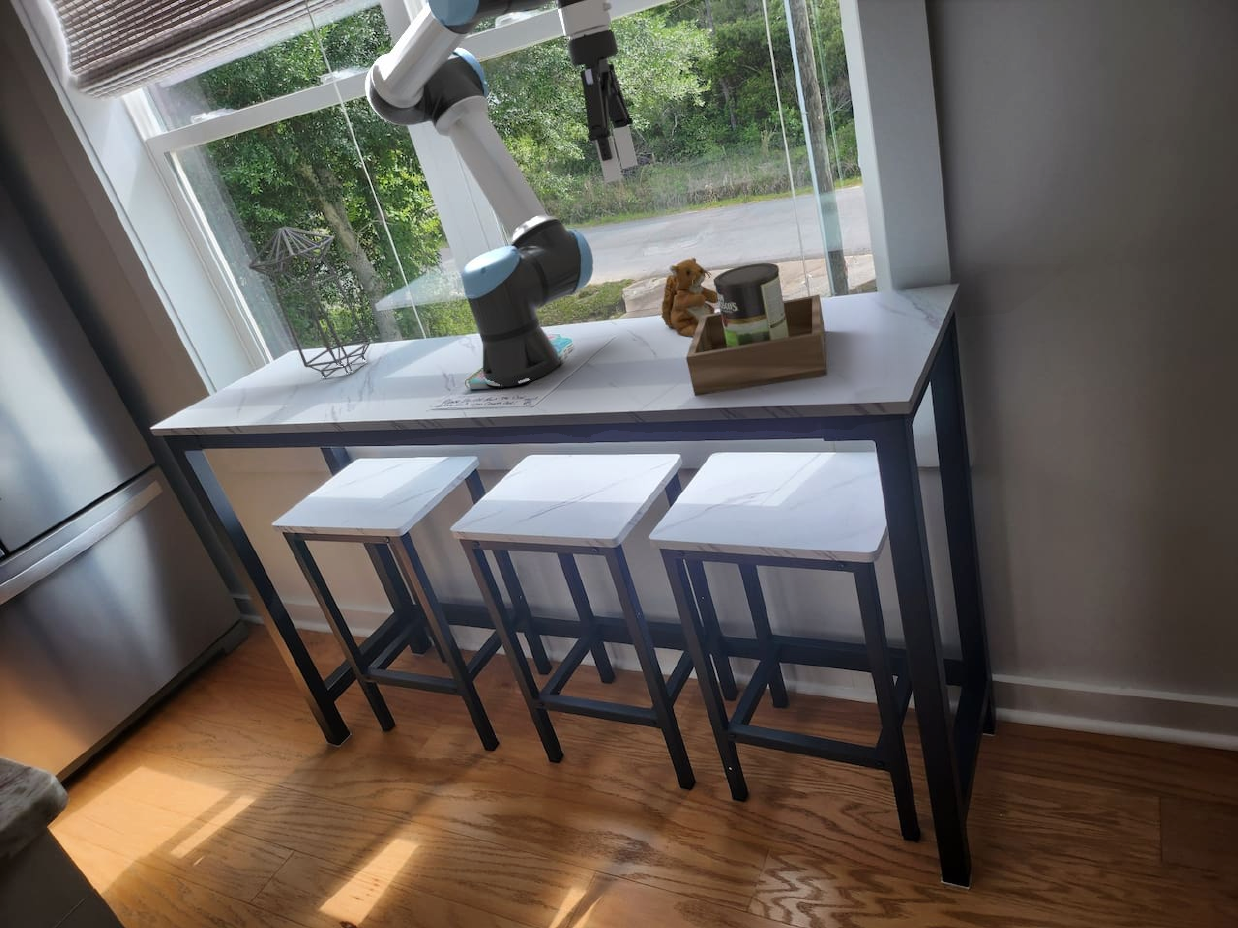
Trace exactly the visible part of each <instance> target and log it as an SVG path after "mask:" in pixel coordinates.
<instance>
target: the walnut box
mask: <svg viewBox="0 0 1238 928" xmlns="http://www.w3.org/2000/svg"><path fill="white" fill-rule="evenodd" d="M820 295H821V294H815V295H814V294H813V295H810V296H809V295H808V296H804V297H797V298H791V299H788V300H783V303H784V309H785V315H786V321H787V327H788V333H789V337H788V338H782V339H776V340H770V341H764V342H758V343H752V344H747V345H741V346H735V347H729V348H728V347H727V342H726V337H725V332H724V327H723V322H722V317H721V312H720V311H719V312H720V313H717V312H714V313H715V314H709V315H704V316H701V318H700V320H699V323H698V326H697V329H696V331H695V334H694V336H693V337H692V340H691V343H690V345H689V348H688V351H687V353H686V356H685V358H686V363H687V367H688V373H689V378H690V381H691V385H692V389H693V393H694V397H695V396H700V395H708V394H713V393H714V394H715V393H721V392H726V391H733V390H740V389H746V388H747V389H748V388H751V387H752V388H753V387H758V386H759V387H760V386H766V385H771V384H772V385H773V384H777V383H784V382H785V383H786V382H790V381H797V380H805V379H811V378H817V377H823V376H824V377H825V376H827V375H828V374H827V351H826V350H827V349H826V346H827V345H826V328H825V327H826V326H825V322H824V315H823V308H822V303H821V296H820Z"/></svg>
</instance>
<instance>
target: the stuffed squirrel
mask: <svg viewBox="0 0 1238 928" xmlns="http://www.w3.org/2000/svg"><path fill="white" fill-rule="evenodd" d="M668 270H670V271H671V272H672V274H673V275H672V274H670V275H668V276H667V277H666V283H665V287H664V290H663V291H664V293H663V294H664V295H663V301H662V302H661V304H662V305H661V311H662V313H661V317H660V318H662V320H663V321H664V322H665V325H666V326H668V327H669V328H672V329H675V331H676V332H677V333H678V334H679V335H680V336H684V337H690V338H691V337H692V338H693V337H694V334H695V331H696V329H697V326H698V323H699V320H700V318H701V316H704V315H709V314H715V313H720V311H717V312H715V310H716V309H715V308H714V307H713V305H711V304H717V303H719V302H718V297H717V292H716V290H711V289H709V288H707V287H705V286H703V285H702V283H704V281H705V280H706V277H707V276H708V278H709V279H711V276H712V275H713V274H712V273H710V272H709V270H706V269H704V267H702V266H701V265H700V264H699V263H697V259H696V258H695V257H691V259H690V258H688V259H684V260H682V261H681V262H678V263H676V265H674V264H673V265H670V266H669V269H668ZM707 302H708V303H707ZM709 303H710V304H709Z"/></svg>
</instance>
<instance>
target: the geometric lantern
mask: <svg viewBox="0 0 1238 928" xmlns="http://www.w3.org/2000/svg"><path fill="white" fill-rule="evenodd" d="M287 235H288V236H289V238H290V239H291V241H292V242H293V244H294V245H295V246H292V245H291V244H290V241H289V239H288V237H287ZM304 235H307V236H313V237H319V238H322V239H320V240H318V241H315V240H312V239H311V238H308V237H306V236H304ZM334 239H336V236H333V235H329V234H323V233H320V232H319V233H318V232H315V231H310V230H303V229H300V228H299V229H298V228H294V227H290V226H282V227H279V228H278V229H277V230H276V232H275V233H274V235H272V237H271V238H270V239H269V241H268V242H266V245H264V246H263V248H262V249H261V250H260V251H259V252H258V253H257V255H256V256H255V257H254V259H253V260H252V261H251V262H250V263H249V265H248V268H249V269H250V270H253V271H255V272H258V273H260V274H261V275H262V274H263V275H265V276H267V277H270V278H272V279H273V282H274V288H275V293H276V294H275V295H276V299H277V302H278V304H279V306H280V309H281V310H282V313H283V315H284V318H285V321H286V323H287V326H288V327H289V330H290V333H291V334H292V337H293V339H294V341H295V344H296V345H295V346H296V347H297V350H298V353H299V355H300V358H301V361H302V363H303V366H304V367H305V368H310V369H312V370H315V371H318V372H320V373H321V375H322V377H323V376H324V377H325V375H326V374H325V373H324V372H329V371H330V372H331V371H333V370H335V369H337V370H340V369H344V370H345V372H346V373H345V374H347V373H348V374H349V371H350V372H351V371H353V369H352V367H351V365H350V364H352V363H356V361H358V360H359V359H360V358H361V359H362V360H363V359H364V360H366V358H365V356H364V355H365V354H366V352H367V350H368V348H369V346H370V345H371V341H370V339H369V337H368V335H367V333H366V332H365V330H364V327H363V326H362V324H361V322H360V321H359V318H358V316H357V314H356V312H355V311H354V309H353V307H352V305H351V303H350V301H349V299H348V296H347V295H346V291H345V290H344V288H343V286H342V284H341V282H340V280H339V278H338V275H337V272H335V270H334V269H333V268H332V266H331V264H330V262H329V261H328V260H327V257H326V255H327V252H328V251H329V249H330V247H331V245H332V243H333V240H334ZM272 242H273V245H272V247H271V249H270V251H269V254H268V257H267V260H264V261H261V262H257V263H256V261H258V259H259V258H260V257H261V256H262V254H263V253H264V252H265V251H266V250H267V249H268V247H270V245H271V244H272ZM284 243H285V245H286V247H287V249H285V245H284ZM281 244H282V250H281V251H280V248H281ZM298 245H299V246H298ZM275 249H276V254H275V258H273V254H274V252H275ZM303 249H304V250H303ZM316 249H318V250H319V251H320V253H319V255H315V252H314V251H315V250H316ZM286 252H289V254H290V255H288V256H286V257H285V253H286ZM294 252H296V253H294ZM310 254H311V255H310ZM280 256H281V257H280ZM297 256H300V257H301V258H302V259H305V260H307V261H308V262H309V263H310V266H309V270H308V271H309V272H308V279H306V280H303V281H302V280H300V279H299V278H298V277H296V276H294V275H293V274H292V273H290V272H288V271H286V270H287V268H288V267H289V265H290V263H291V261H292V259H293V258H294V257H297ZM272 258H273V259H272ZM285 261H287V262H286V263H285V265H284V262H285ZM321 261H322V262H323V263H324V265H325V266H326V267H327V269H328V271H330V274H326V275H321V276H318V277H314V278H313V276H314V270H315V265H317V264H318V263H319V264H320V263H321ZM273 265H274V266H275V267H276V269H275V270H274V269H273V267H272V266H273ZM263 267H266V268H263ZM278 272H279V273H278ZM275 273H276V274H275ZM282 275H284V276H285V277H286V278H288V279H289V280H290V281H292V282H293V284H295V285H293V286H290V287H289V288H286V289H284V290H283V291H281V292H280V289H279V285H278V282H277V281H278V280H277V278H278V277H281V276H282ZM326 277H327V278H326ZM324 278H325V279H324ZM319 279H324V280H321V281H319V282H318V283H315V284H312V281H315V280H319ZM331 279H333V280H334V281H335V283H336V285H337V287H338V289H339V291H340V293H341V295H342V296H343V298H344V300H345V302H346V305H347V306H348V308H349V310H350V312H351V314H352V316H353V318H354V320H355V322H356V325H357V326H358V329H359V330H360V332H361V336H362V337H363V339H361V340H357V341H353V342H348V343H344V344H343V343H342V342H341V340H340V339H339V336H338V334H337V333H336V330H335V329H334V327H333V325H332V322H331V320H330V318H329V316H328V315H327V312H326V310H325V308H324V307H323V305H322V303H321V300H320V298H319V297H318V295H317V293H316V290H315V289H314V287H317V286H319V285H321V284H323V283H325V282H327V281H329V280H331ZM306 283H308V287H306V286H305V285H304V284H306ZM295 287H300V289H298V290H293V291H290V290H292V289H294V288H295ZM305 287H306V288H305ZM309 290H310V291H311V292H312V294H313V296H314V297H315V301H316V302H317V304H318V306H319V309H320V311H321V313H322V316H323V317H324V320H325V321H326V324H327V326H328V328H329V331H330V332H331V335H332V337H333V339H334V342H335V344H336V346H335V345H334V346H333V347H331V344H330V342H329V340H328V338H327V336H326V333H325V331H324V328H323V326H322V324H321V323H320V320H319V317H318V315H317V313H316V311H315V309H314V306H313V304H312V301H311V299H310V297H309V294H308V292H307V291H309ZM288 291H289V292H288ZM300 292H303V294H304V295H305V298H306V300H307V303H308V306H309V308H310V311H311V313H312V316H313V318H314V320H315V323H316V326H317V329H318V331H319V333H320V334H319V335H320V336H321V339H322V342H323V343H324V347H325V350H323V351H322V352H321V353H319V354H318V355H316V356H315V357H313V358H311V359H310V360H309V361H307V360H306V358H305V356H304V353H303V351H302V347H301V346H300V343H299V341H298V338H297V336H296V333H295V331H294V327H293V326H292V322H291V320H290V316H289V314H288V311H287V309H286V306H285V303H284V300H283V298H282V296H286V295H291V294H295V293H300ZM361 343H362V345H361V346H359V347H358V348H356V349H355V350H353V351H351V352H349V353H348V354H347V352H346V350H345V348H344V347H347V346H353V345H358V344H361ZM363 343H364V344H363ZM335 349H338V350H337V351H338V353H337V354H338V358H337V359H336V356H335V354H334V352H333V350H335ZM360 350H361V352H360V353H357V352H359V351H360ZM341 351H342V353H343V355H344V356H342V357H341ZM327 353H329V354H330V356H331V358H332V359H333V360H330V361H324V362H319V363H318V362H317V363H313V362H314V361H315V360H317V359H318V358H320V357H322V356H324V354H327ZM355 353H357V354H355ZM357 356H358V357H357ZM354 357H356V358H355V359H353V360H352V361H351V362H350V361H349V359H350V358H354ZM345 359H346V364H347V365H346V366H344V363H343V362H342V361H344V360H345ZM311 363H312V364H311ZM341 363H342V364H341ZM333 364H335V365H336V367H332V368H329V367H330V366H332V365H333ZM338 364H339V365H338ZM324 365H326V366H324ZM337 365H338V366H343V367H337ZM317 366H324V367H323V368H322V369H319V368H317ZM347 368H349V371H348V370H347ZM335 371H336V370H335Z"/></svg>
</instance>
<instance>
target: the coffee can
mask: <svg viewBox="0 0 1238 928" xmlns="http://www.w3.org/2000/svg"><path fill="white" fill-rule="evenodd" d="M779 267H780V266H778V265H777V264H776V263H769V262H762V263H761V262H760V263H753V264H751V263H750V264H745V265H741V266H738V267H734V268H732V269H729V270H728V269H727V270H726V271H724V272H721V273H720V274H718V275H717V276H715V277H714V279H713V286H714V287H715V292H717V297H718V302H717V303H718V306H719V312H721V317H722V322H723V327H724V332H725V337H726V342H727V347H728V348H729V347H735V346H741V345H747V344H752V343H758V342H764V341H770V340H776V339H782V338H788V337H789V333H788V327H787V321H786V315H785V309H784V303H783V301H784V298H783V292H782V291H783V290H782V285H781V279H780V275H779V272H780V269H779Z"/></svg>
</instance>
